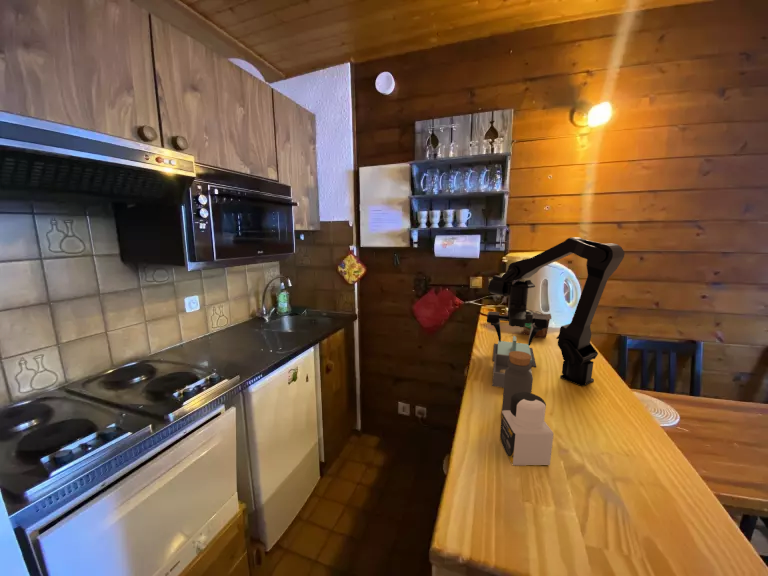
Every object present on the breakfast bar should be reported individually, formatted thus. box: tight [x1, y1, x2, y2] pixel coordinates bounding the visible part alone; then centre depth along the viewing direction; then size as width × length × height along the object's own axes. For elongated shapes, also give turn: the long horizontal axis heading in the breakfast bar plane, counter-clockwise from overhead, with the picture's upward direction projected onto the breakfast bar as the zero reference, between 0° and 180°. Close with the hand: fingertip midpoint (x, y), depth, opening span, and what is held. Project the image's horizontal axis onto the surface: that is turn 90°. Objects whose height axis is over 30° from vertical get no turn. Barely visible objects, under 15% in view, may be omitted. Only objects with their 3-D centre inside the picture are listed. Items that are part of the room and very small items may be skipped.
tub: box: [491, 354, 534, 393], centre depth 92 cm, size 14×10×4 cm
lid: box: [497, 335, 532, 362], centre depth 108 cm, size 14×10×6 cm
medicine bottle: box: [499, 392, 554, 466], centre depth 61 cm, size 7×7×12 cm
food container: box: [523, 308, 552, 339], centre depth 127 cm, size 12×6×10 cm, turn 25°
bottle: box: [501, 351, 533, 412], centre depth 73 cm, size 6×6×15 cm
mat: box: [492, 343, 537, 368], centre depth 108 cm, size 16×13×1 cm
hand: (514, 343), depth 108 cm, fingers open, 9 cm apart
